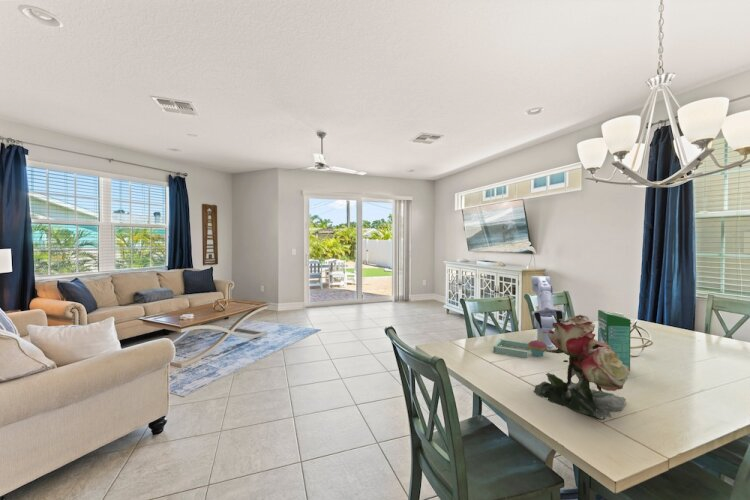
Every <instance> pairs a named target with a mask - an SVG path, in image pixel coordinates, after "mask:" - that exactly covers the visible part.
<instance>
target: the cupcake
mask: <svg viewBox="0 0 750 500" xmlns="http://www.w3.org/2000/svg"><path fill="white" fill-rule="evenodd" d="M541 336H542V331H541V333H540V339H539V341H538V340H537V339H535V340H532V341H529V342H527V343H528V347H529V348H530V349H531V350H530V351H531V354H532V355H533V356H535V357H543V356H544V352H541V350H545V349H548V347H547V345H546V344H545V343H544V342H542V341H541Z"/></svg>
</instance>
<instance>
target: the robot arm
mask: <svg viewBox="0 0 750 500" xmlns="http://www.w3.org/2000/svg"><path fill="white" fill-rule="evenodd" d="M530 282H531V283H530V284H531V290H532V292H534V293H535V294H536V296H537V305H538V306H537V307H538V310H533V311H531V315H532V317H534V318H533V319H534V320H533V321H534V322H533V323H534V327H535V328H536V331H537V332H536V337H537V338H536V340H538V341H539V339H540V333H541V331H542V336H541V341H542V342H544V343H545V344H546V345H547V348H549V349H552V348H553V346H554V344H553V343H552V342H551V340H550V338H549V336H548V335H547V334H546V333H543V331H544V332H547V333H548V332H549V330H551V331H554V330H555V328H554V327H553V323H562V322H561V321H559V319H561V320H563V316H564V315H566V313H565V309H563V308H561V309H560V308H554V307H555V306H554V300H553V294H554V288H553V285H552V284H551V277H550V276H549V275H548V276H544V275H543V276H540V275H536V276H535V275H532V276H531V281H530ZM554 316H556V317H554ZM555 318H556V319H555ZM553 329H554V330H553Z"/></svg>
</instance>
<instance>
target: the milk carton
mask: <svg viewBox="0 0 750 500" xmlns="http://www.w3.org/2000/svg"><path fill="white" fill-rule="evenodd" d="M624 315H625V314H624V313H622V312H617V311H613V312H610V311H605V310H601V309H598V311H597V341H599V342H603V343H606V344H608V346H609V347H611V349H612V350H613V351H614V352H615V353H616V354H617V356H619V358H620V359H619V360H620V361H622V363H623V365H625V366H627V367H629V368H630V369H631V322H632V321H631V319H630V318H627V317H625V316H624Z"/></svg>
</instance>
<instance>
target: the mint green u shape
mask: <svg viewBox="0 0 750 500" xmlns="http://www.w3.org/2000/svg"><path fill="white" fill-rule="evenodd" d="M528 343H529V342H523V341H516V340H509V339H503V338H500V339H499V340H498V341H497V342H496V343H495V344H494V345H493V353H495V352H497V353H496V354H500V353H502V354H501V355H506V354H507V355H508V356H511V357H513V356H514V357H518V358H525V359H528V358H529V356H528V351H527V350H529V349H530V348H529V347H528ZM501 345H502V346H501ZM504 345H506V347H504ZM500 346H501V347H500ZM510 346H513V348H508V347H510ZM516 347H519V348H518V349H515V348H516ZM523 348H525V349H524V350H520V349H523ZM530 351H531V349H530ZM507 355H506V356H507Z"/></svg>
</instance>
